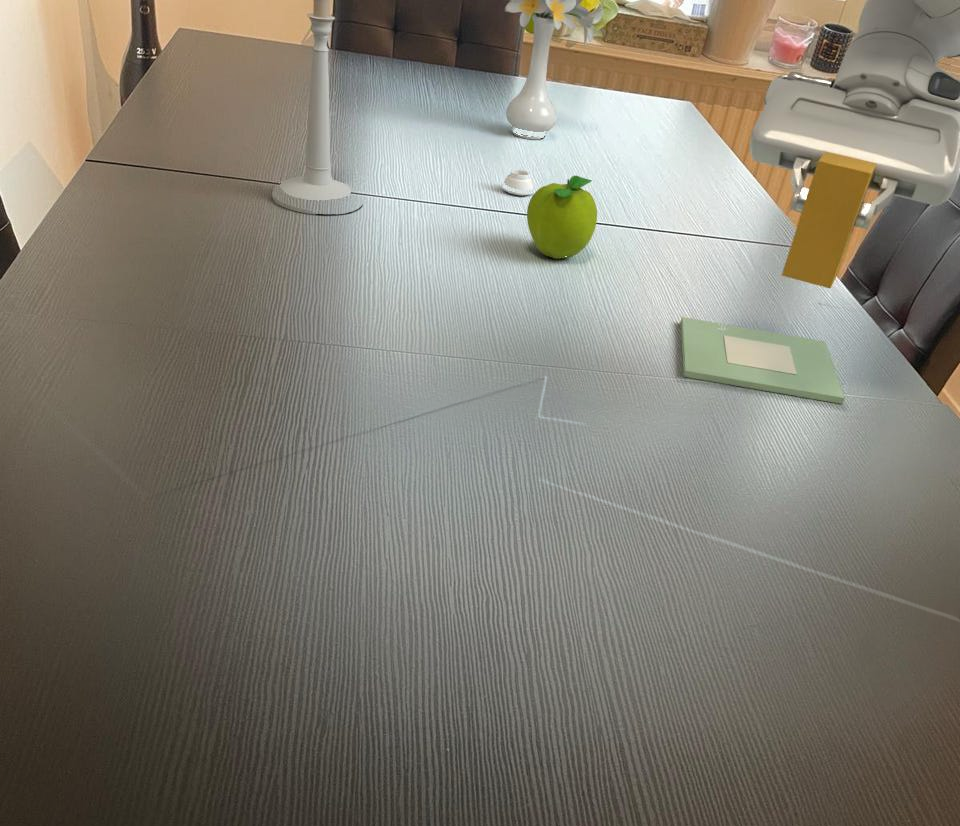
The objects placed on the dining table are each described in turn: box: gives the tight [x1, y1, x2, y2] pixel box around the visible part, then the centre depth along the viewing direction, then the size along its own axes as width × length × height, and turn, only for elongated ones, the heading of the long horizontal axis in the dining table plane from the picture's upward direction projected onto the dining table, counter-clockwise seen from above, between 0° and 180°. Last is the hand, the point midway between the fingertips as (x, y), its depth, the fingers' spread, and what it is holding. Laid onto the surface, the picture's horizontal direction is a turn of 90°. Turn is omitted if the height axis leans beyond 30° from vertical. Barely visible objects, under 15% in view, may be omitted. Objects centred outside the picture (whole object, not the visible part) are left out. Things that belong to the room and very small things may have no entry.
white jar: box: [501, 169, 535, 197], centre depth 160 cm, size 5×3×5 cm
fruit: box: [526, 175, 598, 260], centre depth 137 cm, size 9×9×10 cm
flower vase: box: [504, 0, 606, 141], centre depth 181 cm, size 13×18×25 cm
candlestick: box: [271, 0, 351, 216], centre depth 136 cm, size 13×13×30 cm
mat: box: [680, 316, 845, 405], centre depth 120 cm, size 18×16×1 cm
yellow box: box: [781, 152, 876, 289], centre depth 101 cm, size 5×5×11 cm
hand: (829, 216), depth 100 cm, fingers closed on yellow box, 5 cm apart
